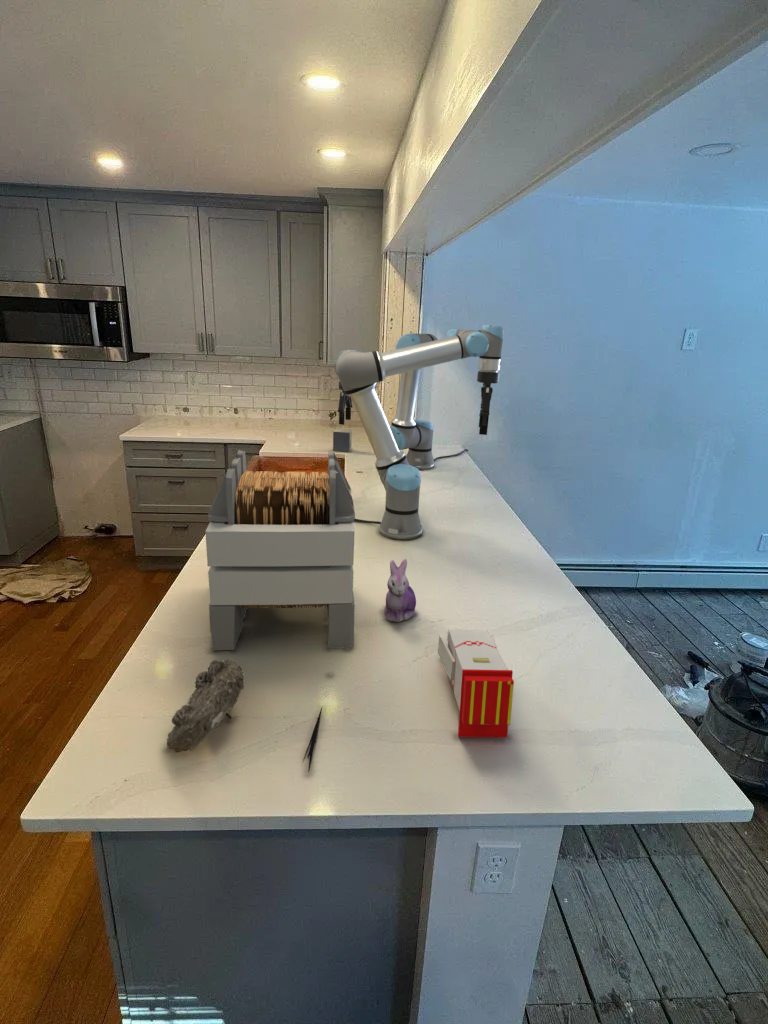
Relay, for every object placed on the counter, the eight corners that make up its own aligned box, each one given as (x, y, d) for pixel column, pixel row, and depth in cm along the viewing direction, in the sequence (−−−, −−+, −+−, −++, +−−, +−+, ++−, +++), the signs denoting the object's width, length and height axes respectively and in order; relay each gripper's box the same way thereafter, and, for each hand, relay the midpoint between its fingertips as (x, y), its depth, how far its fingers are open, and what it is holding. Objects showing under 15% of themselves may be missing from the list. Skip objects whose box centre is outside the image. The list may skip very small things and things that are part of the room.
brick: (349, 452, 309) (349, 432, 305) (332, 450, 310) (333, 431, 306) (351, 449, 314) (351, 430, 310) (335, 448, 315) (335, 429, 311)
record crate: (231, 583, 159) (223, 441, 145) (347, 582, 163) (350, 443, 149) (209, 653, 127) (196, 479, 114) (354, 649, 131) (359, 481, 117)
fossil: (192, 660, 117) (244, 628, 112) (224, 691, 120) (276, 661, 115) (142, 746, 98) (202, 712, 93) (182, 779, 101) (242, 748, 96)
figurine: (392, 627, 141) (395, 572, 136) (374, 608, 149) (376, 556, 144) (425, 619, 145) (429, 566, 140) (405, 601, 154) (408, 550, 149)
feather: (331, 679, 122) (336, 673, 122) (307, 777, 96) (313, 769, 95) (324, 675, 122) (329, 669, 121) (298, 772, 95) (304, 764, 95)
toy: (488, 613, 130) (523, 677, 101) (484, 667, 133) (517, 744, 104) (435, 612, 130) (455, 676, 101) (432, 666, 133) (451, 743, 103)
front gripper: (501, 375, 187) (494, 438, 194) (498, 368, 210) (491, 425, 217) (478, 374, 188) (472, 437, 195) (477, 367, 211) (472, 423, 218)
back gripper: (347, 385, 283) (345, 427, 290) (358, 379, 306) (357, 418, 313) (332, 384, 284) (331, 425, 291) (344, 378, 307) (343, 417, 314)
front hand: (482, 430), depth 206 cm, fingers open, 13 cm apart
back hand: (344, 422), depth 302 cm, fingers open, 13 cm apart
